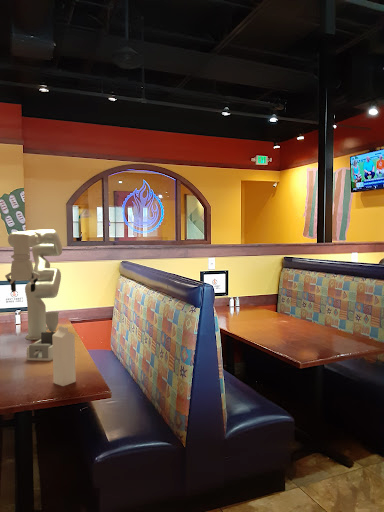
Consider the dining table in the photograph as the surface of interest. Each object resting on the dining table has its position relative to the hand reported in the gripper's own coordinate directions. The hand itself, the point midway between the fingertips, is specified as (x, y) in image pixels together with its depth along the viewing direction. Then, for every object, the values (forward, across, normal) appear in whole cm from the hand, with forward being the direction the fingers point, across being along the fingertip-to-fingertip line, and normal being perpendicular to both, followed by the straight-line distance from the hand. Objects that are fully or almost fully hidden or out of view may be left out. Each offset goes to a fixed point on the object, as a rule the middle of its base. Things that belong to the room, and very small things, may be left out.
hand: (23, 291), depth 206 cm
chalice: (+28, +16, -4) cm, 33 cm away
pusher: (+27, +15, -15) cm, 35 cm away
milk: (+28, +36, -47) cm, 66 cm away
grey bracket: (+29, +15, -9) cm, 34 cm away
